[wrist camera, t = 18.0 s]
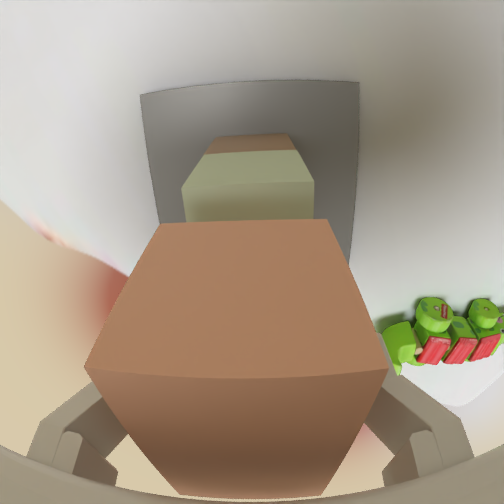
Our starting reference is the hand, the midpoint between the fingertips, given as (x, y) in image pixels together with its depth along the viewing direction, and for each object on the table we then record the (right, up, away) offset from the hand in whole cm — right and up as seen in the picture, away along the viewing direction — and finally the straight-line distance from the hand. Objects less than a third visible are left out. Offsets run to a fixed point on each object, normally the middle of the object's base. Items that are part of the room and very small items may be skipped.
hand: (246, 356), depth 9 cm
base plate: (0, +8, +13) cm, 15 cm away
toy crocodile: (+21, -4, +20) cm, 30 cm away
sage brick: (0, +5, +8) cm, 9 cm away
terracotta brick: (0, +1, +1) cm, 2 cm away
